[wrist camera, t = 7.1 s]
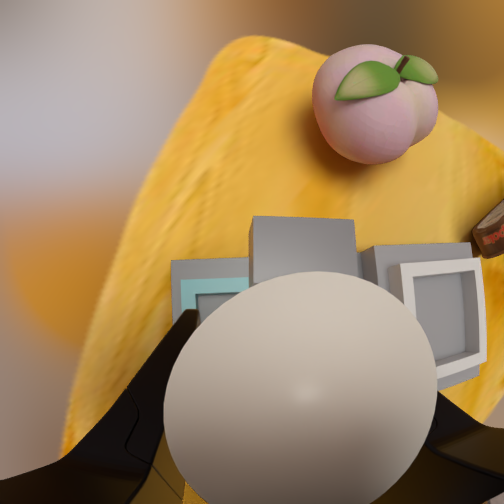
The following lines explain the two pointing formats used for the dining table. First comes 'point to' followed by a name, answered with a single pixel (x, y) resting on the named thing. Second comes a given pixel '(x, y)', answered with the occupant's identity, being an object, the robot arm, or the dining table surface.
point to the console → (389, 278)
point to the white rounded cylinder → (301, 378)
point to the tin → (491, 232)
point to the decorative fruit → (374, 102)
